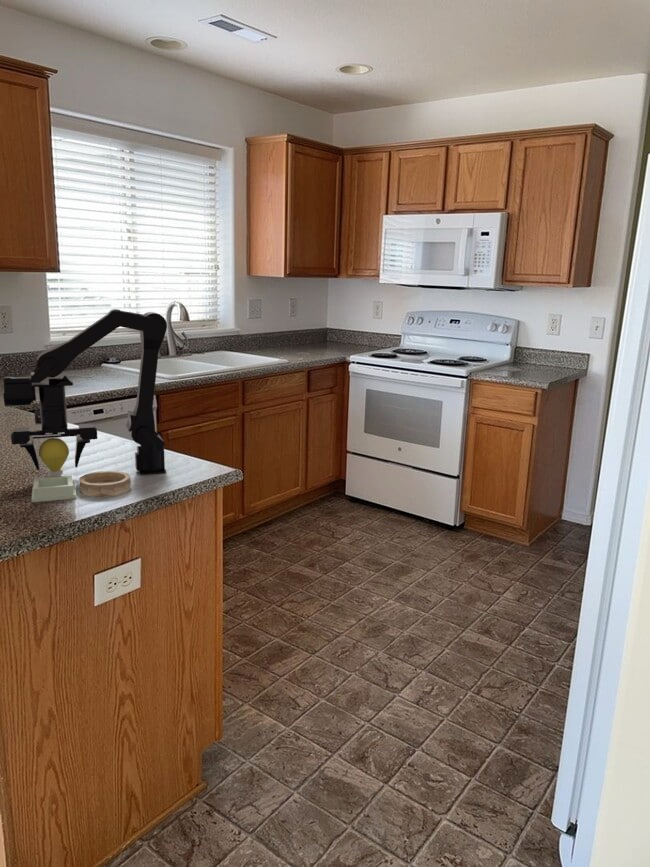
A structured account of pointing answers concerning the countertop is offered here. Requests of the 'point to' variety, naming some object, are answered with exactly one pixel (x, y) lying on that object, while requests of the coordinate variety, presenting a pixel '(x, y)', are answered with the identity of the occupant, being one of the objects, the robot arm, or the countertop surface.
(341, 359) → the countertop surface
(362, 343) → the countertop surface
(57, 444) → the light bulb
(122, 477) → the round cradle
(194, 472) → the countertop surface
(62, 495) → the square socket
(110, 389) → the countertop surface
